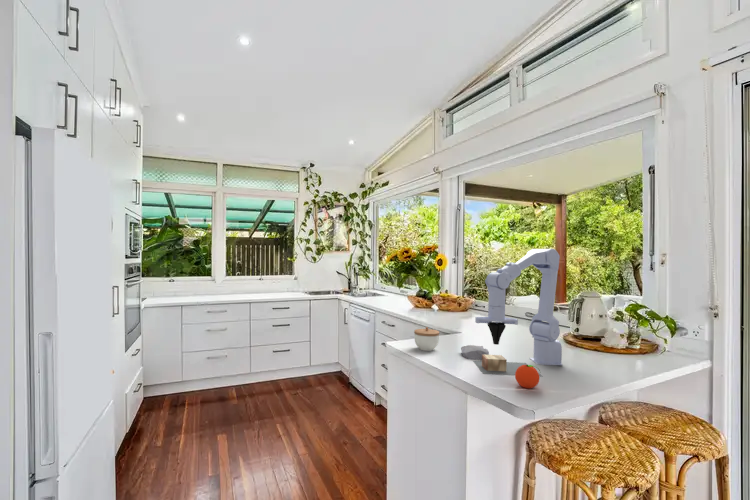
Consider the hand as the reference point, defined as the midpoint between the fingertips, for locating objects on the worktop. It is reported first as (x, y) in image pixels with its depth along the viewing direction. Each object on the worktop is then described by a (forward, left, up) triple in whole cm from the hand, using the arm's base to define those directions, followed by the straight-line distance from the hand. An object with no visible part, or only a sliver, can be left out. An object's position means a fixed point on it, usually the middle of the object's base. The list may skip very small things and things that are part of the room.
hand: (495, 343), depth 131 cm
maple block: (-3, 0, -7) cm, 7 cm away
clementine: (-5, +18, -9) cm, 21 cm away
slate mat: (-4, -1, -9) cm, 10 cm away
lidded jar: (+22, -25, -9) cm, 35 cm away
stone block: (+4, -17, -10) cm, 20 cm away
